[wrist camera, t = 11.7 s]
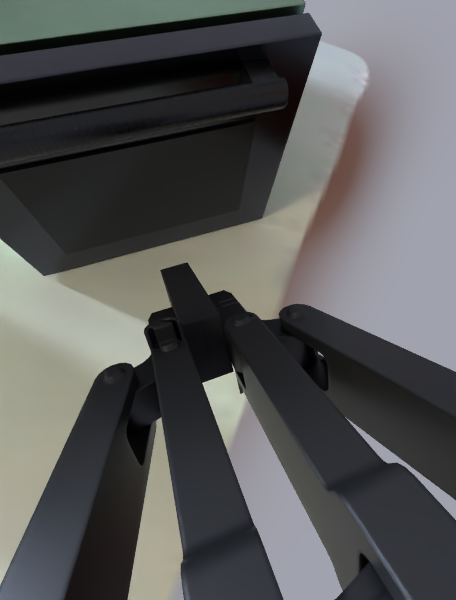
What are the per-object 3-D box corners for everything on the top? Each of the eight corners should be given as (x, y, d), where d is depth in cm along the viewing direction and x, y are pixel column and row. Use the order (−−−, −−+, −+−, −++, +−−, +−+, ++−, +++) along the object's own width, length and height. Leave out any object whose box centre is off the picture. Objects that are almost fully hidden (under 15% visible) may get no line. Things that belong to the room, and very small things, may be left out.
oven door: (271, 237, 29) (342, 63, 15) (48, 299, 26) (-157, 151, 11) (256, 204, 30) (309, 11, 16) (40, 259, 27) (-156, 75, 12)
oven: (255, 203, 31) (306, 2, 16) (41, 258, 27) (-160, 63, 12) (203, 90, 35) (205, -148, 20) (15, 123, 32) (-151, -137, 17)
